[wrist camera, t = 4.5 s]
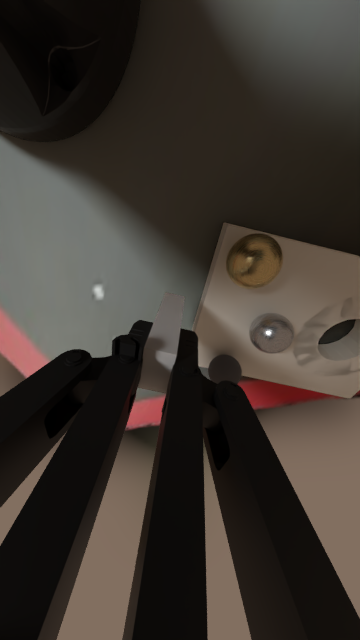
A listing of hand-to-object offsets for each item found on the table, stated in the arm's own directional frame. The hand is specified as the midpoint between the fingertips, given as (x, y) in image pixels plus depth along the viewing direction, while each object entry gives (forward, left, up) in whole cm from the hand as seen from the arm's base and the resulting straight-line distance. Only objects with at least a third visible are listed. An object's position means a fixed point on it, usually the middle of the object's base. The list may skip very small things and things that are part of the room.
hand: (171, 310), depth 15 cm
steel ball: (+8, 0, 0) cm, 8 cm away
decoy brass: (+5, +5, 0) cm, 7 cm away
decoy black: (+6, -5, 0) cm, 8 cm away
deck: (+11, 0, -4) cm, 12 cm away
